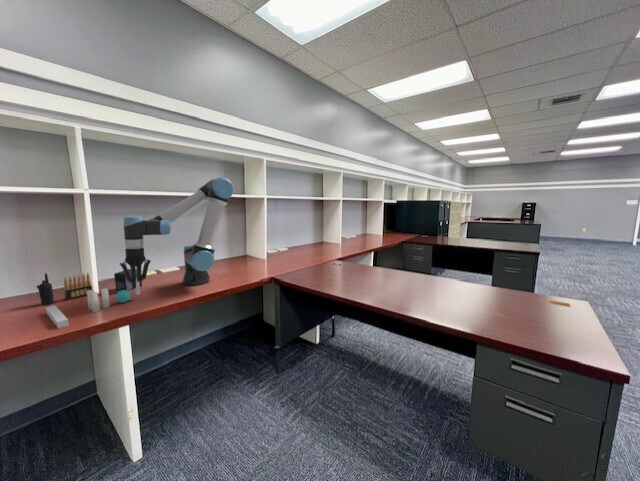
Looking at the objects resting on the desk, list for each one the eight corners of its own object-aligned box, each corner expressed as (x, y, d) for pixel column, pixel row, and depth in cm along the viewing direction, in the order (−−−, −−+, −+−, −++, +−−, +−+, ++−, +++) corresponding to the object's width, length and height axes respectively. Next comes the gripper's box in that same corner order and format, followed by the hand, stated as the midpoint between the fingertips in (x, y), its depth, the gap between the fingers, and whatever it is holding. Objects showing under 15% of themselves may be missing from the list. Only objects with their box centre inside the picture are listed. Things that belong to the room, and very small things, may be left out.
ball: (115, 288, 127) (112, 301, 126) (119, 291, 123) (115, 303, 122) (130, 289, 131) (127, 301, 131) (134, 291, 128) (130, 304, 127)
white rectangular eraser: (55, 310, 117) (55, 305, 116) (68, 325, 102) (67, 319, 102) (46, 313, 114) (45, 307, 114) (58, 328, 100) (57, 322, 100)
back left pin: (98, 309, 118) (96, 291, 117) (99, 310, 117) (97, 292, 116) (91, 311, 116) (89, 292, 115) (92, 312, 115) (90, 294, 114)
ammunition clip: (66, 300, 129) (63, 277, 127) (65, 300, 130) (62, 276, 128) (93, 294, 138) (90, 272, 137) (91, 293, 139) (89, 272, 138)
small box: (129, 286, 153) (128, 268, 152) (140, 286, 153) (139, 268, 152) (115, 291, 143) (113, 273, 141) (126, 292, 142) (125, 273, 141)
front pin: (108, 305, 123) (106, 288, 122) (110, 306, 122) (108, 288, 121) (102, 306, 121) (100, 289, 120) (103, 308, 120) (102, 290, 119)
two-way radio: (56, 303, 126) (51, 272, 124) (44, 306, 122) (40, 275, 120) (47, 301, 127) (43, 271, 125) (36, 305, 123) (31, 274, 121)
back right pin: (94, 307, 121) (92, 289, 120) (96, 308, 120) (94, 290, 119) (88, 308, 119) (86, 290, 118) (89, 310, 118) (87, 291, 117)
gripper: (146, 245, 136) (148, 289, 139) (116, 248, 126) (119, 295, 129) (152, 247, 132) (154, 292, 135) (121, 249, 122) (124, 298, 124)
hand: (137, 293), depth 132 cm, fingers closed
